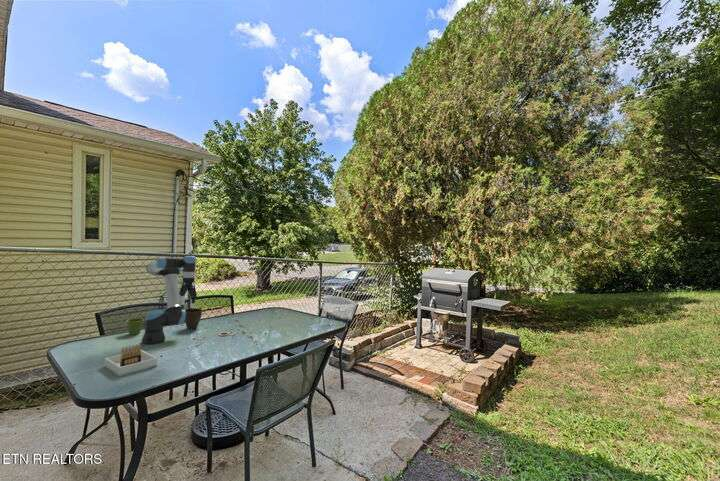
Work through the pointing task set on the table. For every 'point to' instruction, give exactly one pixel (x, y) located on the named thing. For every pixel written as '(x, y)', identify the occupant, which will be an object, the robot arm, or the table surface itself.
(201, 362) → the table surface
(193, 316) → the plant pot
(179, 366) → the table surface
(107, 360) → the box
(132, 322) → the plant pot
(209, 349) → the table surface
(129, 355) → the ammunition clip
